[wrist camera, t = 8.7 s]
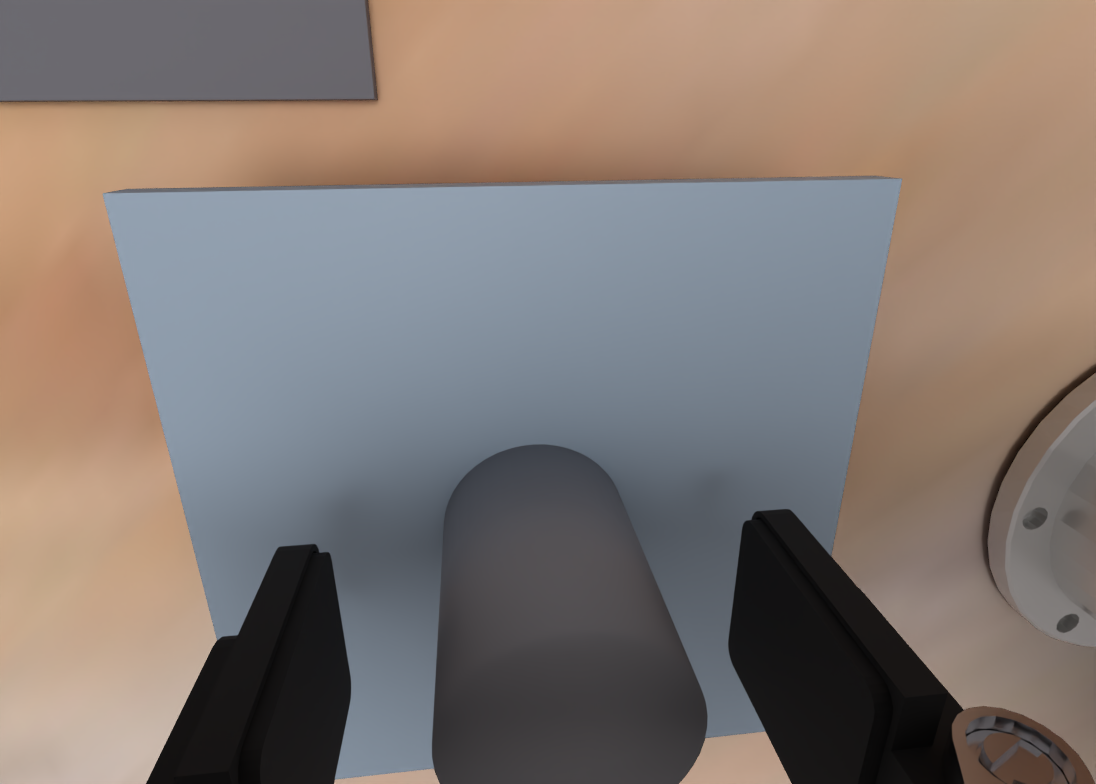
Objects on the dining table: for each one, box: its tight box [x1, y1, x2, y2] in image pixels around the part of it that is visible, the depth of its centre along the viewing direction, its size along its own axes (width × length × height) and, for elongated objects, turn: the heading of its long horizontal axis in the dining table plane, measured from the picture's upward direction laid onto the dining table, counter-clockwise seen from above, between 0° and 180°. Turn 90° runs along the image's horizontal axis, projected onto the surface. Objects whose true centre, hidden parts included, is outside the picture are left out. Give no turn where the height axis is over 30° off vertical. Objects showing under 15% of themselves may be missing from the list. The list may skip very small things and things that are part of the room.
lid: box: [103, 176, 902, 784], centre depth 11 cm, size 13×13×6 cm
